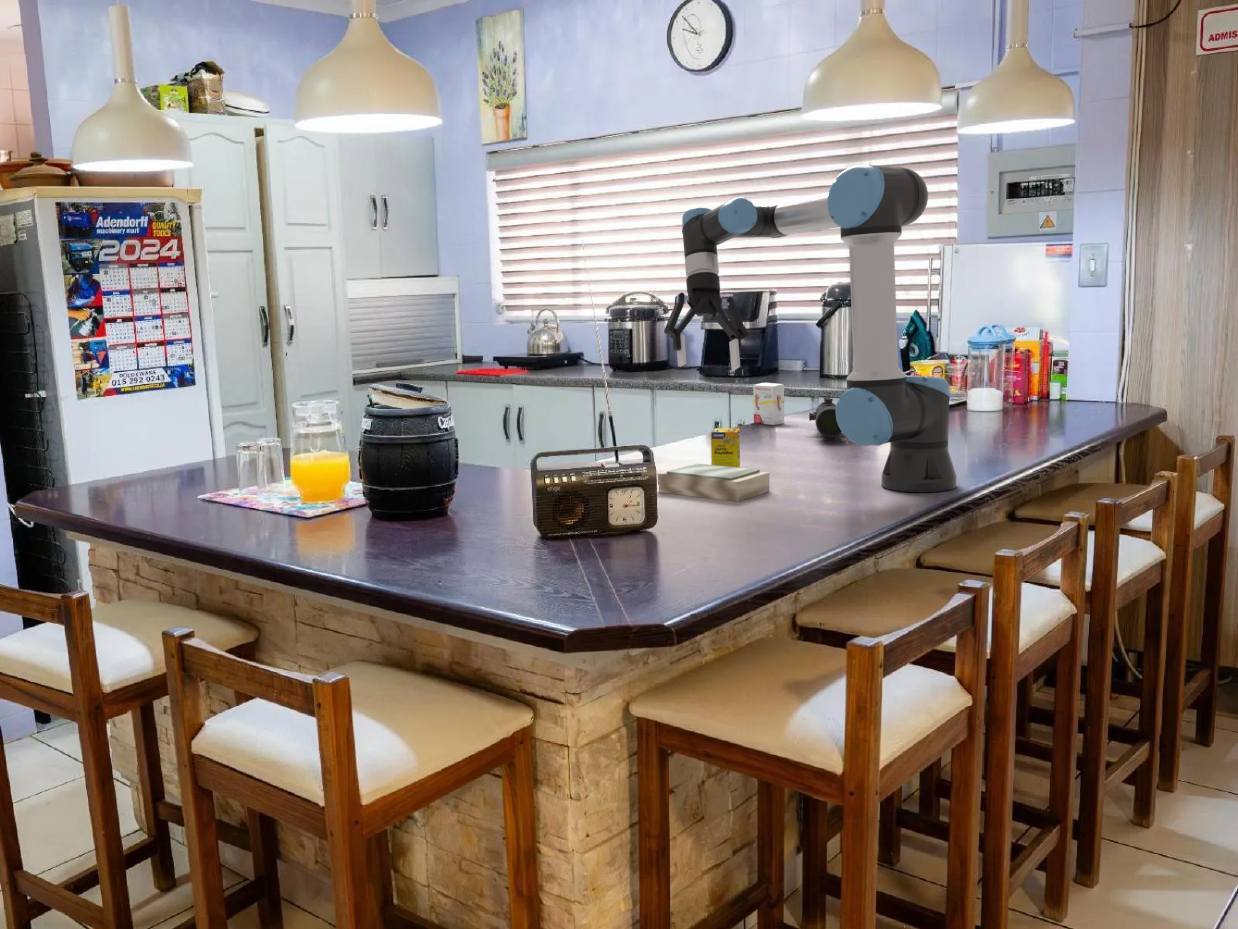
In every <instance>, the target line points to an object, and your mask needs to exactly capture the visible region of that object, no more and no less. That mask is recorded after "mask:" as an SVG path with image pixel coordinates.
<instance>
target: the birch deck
mask: <svg viewBox="0 0 1238 929" xmlns="http://www.w3.org/2000/svg"><path fill="white" fill-rule="evenodd" d="M658 485H659V492H658V493H666V494H671V493H672V494H673V495H680V496H681V495H682V496H689V497H698V498H707V499H714V500H721V501H722V500H723V501H729V502H730V501H731V502H742V501H743V500H748V499H750V498H753V497H757V496H760V495H762V494H765V493H769V492H770V472H769V471H761V470H760V469H756V468H745V467H740V468H737V467H727V466H717V465H711V464H706V463H705V464H704V463H692V464H688V465H684V466H680V467H676V468H673V469H669V470H665V471H661V472H658V473H657V486H658ZM672 494H671V495H672Z"/></svg>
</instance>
